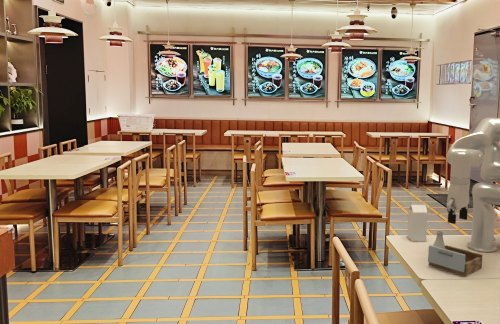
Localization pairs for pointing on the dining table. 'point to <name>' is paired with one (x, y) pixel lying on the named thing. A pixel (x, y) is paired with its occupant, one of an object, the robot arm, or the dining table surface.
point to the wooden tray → (471, 262)
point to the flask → (439, 240)
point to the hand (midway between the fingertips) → (457, 221)
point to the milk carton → (417, 222)
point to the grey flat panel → (446, 258)
